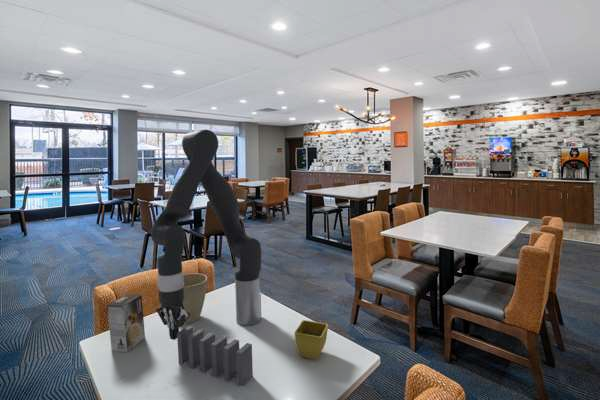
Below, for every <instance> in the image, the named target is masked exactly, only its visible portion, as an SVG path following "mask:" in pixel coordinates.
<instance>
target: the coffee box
mask: <svg viewBox="0 0 600 400" xmlns="http://www.w3.org/2000/svg"><path fill="white" fill-rule="evenodd" d="M106 307H107V308H106V309H107V315H108V317H107V318H108V326H109V327H108V328H109V335H110V336H109V337H110V349H111V351H116V352H125V353H128V352H129V351H130V350H132V349H133V348H134V347H135V346H137V345H138V344H139V343H140V342H142V341H143V340H144V339H146V338H145V337H146V333H145V323H144V322H145V321H144V311H143V310H144V308H143V296H142V294H129V293H126V294H124V295H122V296H120V297H119V298H117V299H115V300H112V302H109V303H108V304H107V306H106Z"/></svg>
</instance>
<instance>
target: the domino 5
mask: <svg viewBox="0 0 600 400" xmlns="http://www.w3.org/2000/svg"><path fill="white" fill-rule="evenodd" d="M239 349H240V340H239V339H236V338H235V339H233V340H232V341H230V342H229V343H227V345H226V346H225V347H224V372H223V373H224V381H225V382H227V383H230V382H231V381H233V380H234V378H237V355H236V352H237V351H238V350H239Z"/></svg>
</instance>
